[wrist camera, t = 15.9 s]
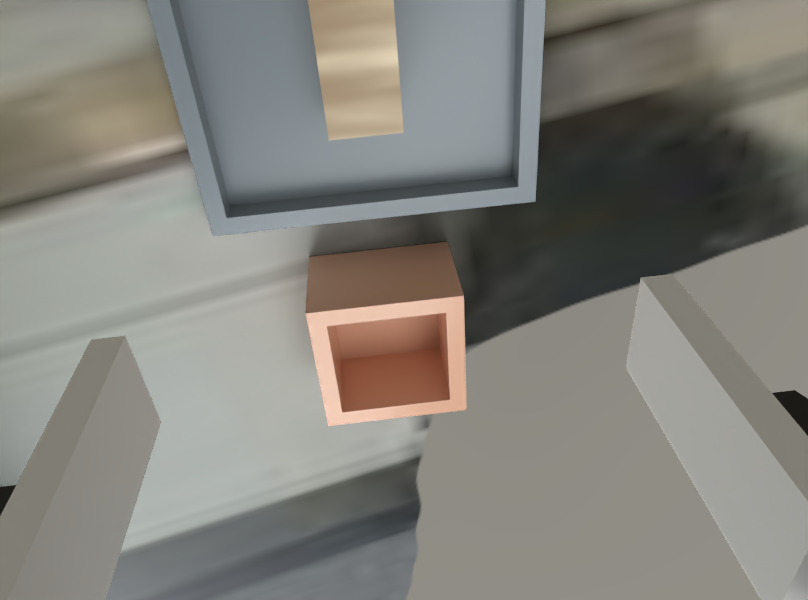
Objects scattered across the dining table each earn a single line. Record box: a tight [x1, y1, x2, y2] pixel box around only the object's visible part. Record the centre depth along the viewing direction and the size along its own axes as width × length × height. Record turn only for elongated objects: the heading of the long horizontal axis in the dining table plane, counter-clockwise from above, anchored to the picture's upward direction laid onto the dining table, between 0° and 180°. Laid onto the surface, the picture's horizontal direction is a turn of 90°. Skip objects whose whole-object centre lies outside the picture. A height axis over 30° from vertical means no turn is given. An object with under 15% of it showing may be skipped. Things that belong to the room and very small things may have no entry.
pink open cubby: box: [306, 242, 466, 426], centre depth 39 cm, size 9×9×6 cm
